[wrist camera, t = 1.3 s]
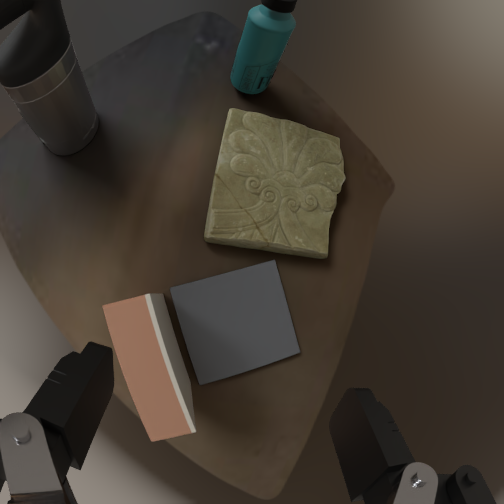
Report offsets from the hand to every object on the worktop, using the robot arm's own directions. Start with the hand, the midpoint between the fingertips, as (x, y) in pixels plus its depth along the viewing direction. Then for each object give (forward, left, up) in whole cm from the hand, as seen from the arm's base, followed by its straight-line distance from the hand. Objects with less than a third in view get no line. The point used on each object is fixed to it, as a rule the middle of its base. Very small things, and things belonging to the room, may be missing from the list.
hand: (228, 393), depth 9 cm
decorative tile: (+7, +21, -29) cm, 37 cm away
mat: (+5, +1, -29) cm, 29 cm away
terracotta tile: (-3, -4, -29) cm, 29 cm away
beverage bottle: (-2, +37, -29) cm, 47 cm away
